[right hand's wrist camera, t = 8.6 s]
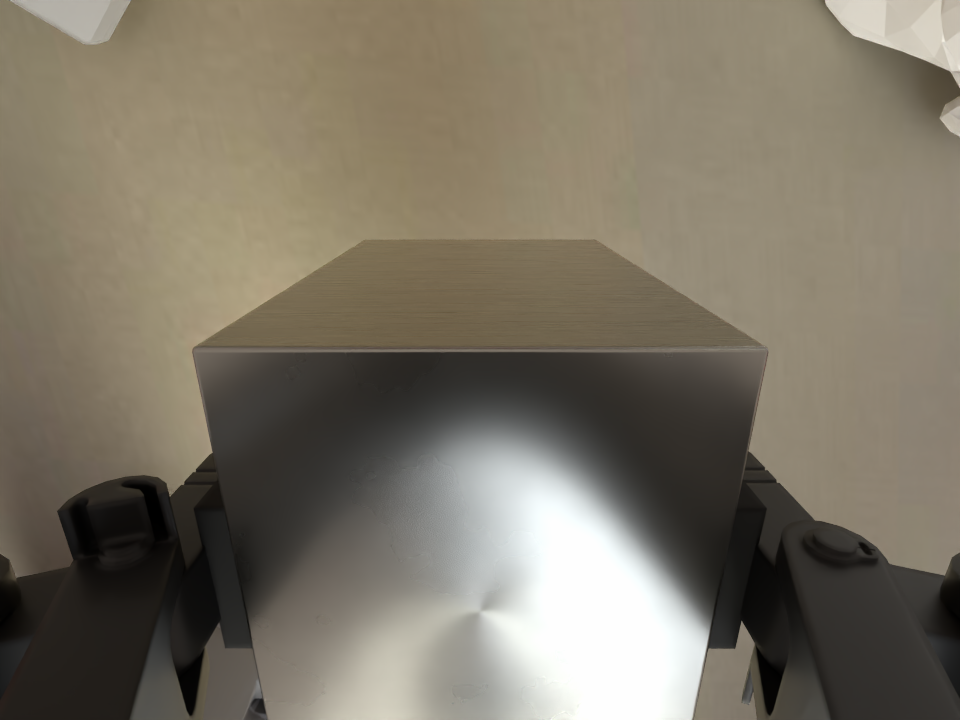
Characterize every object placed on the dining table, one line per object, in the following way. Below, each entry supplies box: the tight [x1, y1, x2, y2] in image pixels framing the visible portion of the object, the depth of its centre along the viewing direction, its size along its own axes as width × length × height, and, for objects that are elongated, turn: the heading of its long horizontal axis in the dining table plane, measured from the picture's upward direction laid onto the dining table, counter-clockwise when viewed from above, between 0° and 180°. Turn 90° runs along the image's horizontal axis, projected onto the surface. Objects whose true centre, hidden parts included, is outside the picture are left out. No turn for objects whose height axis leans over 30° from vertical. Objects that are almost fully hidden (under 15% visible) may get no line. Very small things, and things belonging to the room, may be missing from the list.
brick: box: [193, 240, 768, 720], centre depth 12 cm, size 8×7×10 cm
